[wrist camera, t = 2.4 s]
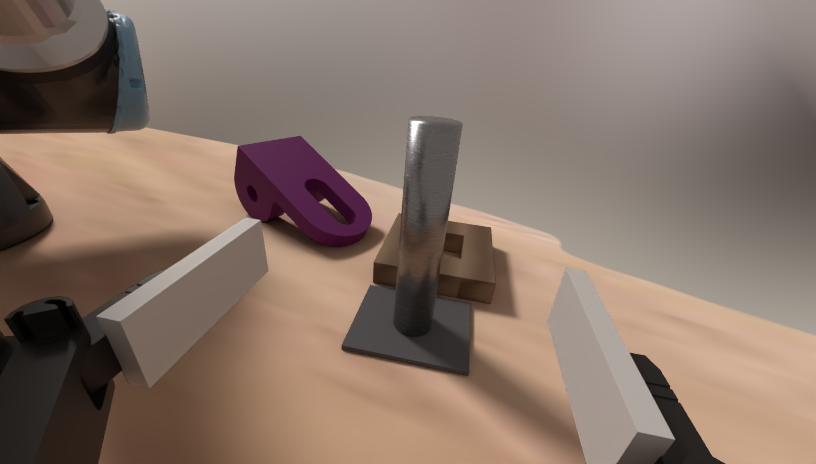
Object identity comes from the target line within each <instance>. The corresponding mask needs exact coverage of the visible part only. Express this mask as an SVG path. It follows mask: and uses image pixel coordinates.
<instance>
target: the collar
mask: <svg viewBox="0 0 816 464" xmlns="http://www.w3.org/2000/svg"><path fill="white" fill-rule="evenodd" d="M400 227H401V214H400V213H399V214H398V216H397V218H396V220H395V222H394V224H393V226H392V228H391V229H390V231H389V233H388V235H387V237H386V239H385V241H384V243H383V245H382V247H381V249H380V251H379V253H378V255H377V257H376V259H375V261H374V269H373V282H374V283H380V284H385V285H390V286H396V278H397V265H398V252H399V240H400ZM443 250H445V251H451V252H457V253H461V257H460V259H457V258H451V257H445V256H442V262H441V269H440V275H439V282H438V288H437V294H440V295H445V296H451V297H456V298H462V299H467V300H473V301H478V302H484V303H489V304H490V303H491V299H492V295H493V292H494V288H495V284H496V282H495V270H494V258H493V246H492V234H491V227H484V226H478V225H471V224H465V223H458V222H452V221H448V223H447V229H446V236H445V243H444V249H443Z"/></svg>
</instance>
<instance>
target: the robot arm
mask: <svg viewBox="0 0 816 464" xmlns="http://www.w3.org/2000/svg"><path fill="white" fill-rule="evenodd" d="M149 120H150V115H149V106H148V99H147V92H146V86H145V80H144V74H143V68H142V62H141V57H140V51H139V46H138V41H137V36H136V31H135V27H134V24H133V22H132V20H131V19H130V18H128V17H127V16H125V15H122V14H118V13H117V12H115V11H107V12H106V11H105V9H104V7H103V5H102V3H101V2H100V0H0V134H27V133H100V132H106V133H109V134H113V133H116V132H118V131H134V130H141V129H143V128H145V127H146V126H147V125H148V123H149ZM51 220H52V214H51V212H50V210H49V208H48V206H47V204H46V202H45V200H44V199H43V197H42V196H41V195H40V194H39V193H38V192H37V191H36V190H34V189H33V188H32V187H31V186H30V185H29V184H28V183H27V182H26V181H25V180H24V179H23V178H22V177H21V176H20V175H19V174H18V173H16V172H15V171H14V170H13V169H12V168H11V167H10V166H9V165H8V164H7V163H6V162H5V161H4V160H3V159H2V158H1V157H0V250H1V249H4V248H7V247H9V246H12V245H14V244H17V243H19V242H21V241H23V240H26V239H28V238H30V237H32V236H33V235H35V234H37V233H39V232H40V231H42V230H43V229H44V228H45V227H47V226H48V225H49V224H50V222H51ZM267 272H268V265H267V259H266V252H265V245H264V238H263V232H262V225H261V220H257V219H251V218H244V219H242V220H241V221H239V222H238V223H236V224H235V225H233V226H232V227H230V228H229V229H227V230H226V231H224V232H223V233H221V234H220V235H218V236H216V237H215V238H213V239H212V240H210V241H209V242H207V243H206V244H204V245H203V246H201V247H200V248H198V249H197V250H195V251H194V252H192V253H191V254H189V255H188V256H186V257H185V258H183V259H182V260H180V261H179V262H177V263H176V264H174V265H173V266H171V267H170V268H166V269H163V270H161V271H158V272H156V273H153V274H151V275H149V276H148V277H146V278H144V279H143V280H141V281H140V282H138V283H137V285H136V286H132V287H131V288H129V289H127V290H126V291H125V293H121V294H120V295H118V296H117V297H115V298H113V299H112V300H110V301H109V302H107V303H106V304H104V305H103V306H101V307H100V308H98V309H96V310H95V311H93V312H92V313H90V314H89V315H87V316H86V317H84V318H81V316H80V314H79V312H78V310H77V308H76V306H75V304H74V302H73V300H71V299H70V298H68V297H61V296H57V297H49V298H44V299H40V300H37V301H33V302H31V303H29V304H26V305H24V306H21V307H20V308H18V309H16V310H15V311H13V312H11V313H10V314H9V315H8V316H7V317H6V318H5V319H4V320H5V322H6V323H7V325H8V326H9V328H10V329H11V331H12V332H13V334H14V335H15V336H4V335H3V333H2V332H1V331H0V464H98V461H99V457H100V452H101V448H102V443H103V439H104V434H105V430H106V425H107V421H108V416H109V412H110V407H111V403H112V398H113V393H114V389H115V385H114V381H113V379H112V378H114V377H115V376H116V375H117V374H118V373H119V372H120V371H122V372H123V374H124V376H125V378H126V380H127V382H128V384H133V385H137V386H141V387H145V388H149V389H150V388H151V387H152V386H153V385H154V384H155V383H156V382H157V381H158V380H159V379H160V378H161V377H162V376H163V375H164V374H165V373H166V372H167V371H168V370H169V369H170V368H171V367H172V366H173V365H174V364H175V363H176V362H177V361H178V360H179V359H180V358H181V357H182V356H183V355H184V354H185V353H186V352H187V351H188V350H189V349H190V348H191V347H192V346H193V345H194V344H195V343H196V342H197V341H198V340H199V339H200V338H201V337H202V336H203V335H204V334H205V333H206V332H207V331H208V330H209V329H210V328H211V327H212V326H213V325H214V324H215V323H216V322H217V321H218V320H219V319H220V318H221V317H222V316H223V315H224V314H225V313H226V312H227V311H228V310H229V309H230V308H231V307H232V306H233V305H234V304H235V303H237V302H238V301H239V300H240V299H241V298H242V297H243V296H244V295H245V294H246V293H247V292H248V291H249V290H250V289H251V288H252V287H253V286H254V285H255V284H256V283H257V282H258V281H259V280H260V279H261V278H262V277H263V276H264V275H265V274H266V273H267ZM547 322H548V326H549V330H550V333H551V337H552V340H553V344H554V348H555V351H556V355H557V359H558V362H559V366H560V370H561V373H562V377H563V380H564V384H565V388H566V391H567V395H568V399H569V402H570V406H571V409H572V413H573V417H574V420H575V424H576V428H577V431H578V435H579V439H580V442H581V446H582V449H583V453H584V457H585V460H586V464H725V463H723V462H721V461H720V460H718V459H716V458H714V457H713V456H712V455H711V453H710V452H709V450H708V448H707V447H706V445H705V443H704V442H703V440H702V438H701V437H700V435H699V433H698V432H697V430H696V428H695V427H694V425H693V423H692V422H691V420H690V418H689V417H688V415H687V413H686V412H685V410H684V409H683V407H682V405H681V404H680V403H678V399H677V397H676V395H675V394H674V392H673V390H672V389H670V385H669V384H668V382H667V380H666V379H665V377H664V375H663V374H662V372H661V370H660V369H659V368H658V367H657V366H656V365H654V364H653V363H652V362H651V361H650V360H649V359H648V358H647V357H646V356H645V355H639V354H634V353H629V351H628V349H627V348H626V346H625V344H624V342H623V340H622V338H621V336H620V334H619V332H618V331H617V329H616V327H615V325H614V323H613V321H612V319H611V317H610V315H609V314H608V312H607V310H606V308H605V306H604V304H603V302H602V300H601V298H600V297H599V295H598V293H597V291H596V289H595V287H594V285H593V283H592V281H591V280H590V278H589V276H588V274H587V272H586V271H581V270H574V269H568V268H566V269H565V272H564V275H563V278H562V280H561V283H560V286H559V289H558V292H557V294H556V297H555V300H554V303H553V306H552V308H551V311H550V314H549V317H548V319H547Z"/></svg>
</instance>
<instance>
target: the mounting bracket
mask: <svg viewBox="0 0 816 464" xmlns="http://www.w3.org/2000/svg"><path fill="white" fill-rule="evenodd" d="M234 181H235V187H236V191H237V194H238V197H239V200H240V202H241V204H242V205H243V207H244V209H245V210H246V211H247V213H248V214H249V215H250V216H252V217H253V218H255V219H257V220H261V222H265V221H268V220H270V219H273V218H276V217H279V216H281V215H283V214H284V212H285V213H286V214H287V215H288V216H289V217H290V218H291V219H292V220H293V221H294V223H295V224H296V225H297V226H298V227H299V228H300V229H301V230H302V231H303V232H304V233H305V234H306V235H307V236H309V237H310V238H311V239H313V240H315V241H317V242H319V243H322V244H325V245H328V246H334V247H342V246H347V245H350V244H353V243H355V242H357V241H359V240H360V239H362V238H363V236H364V235H365V233H366V231H367V229H368V227H369V225H370V224H371V221H372V212H371V209H370V207H369V205H368V203H367V202H366V200H365V199H364V198H363V197H362V196H361V195H360V194H359V193H358V192H357V191H356V190H355V189H354V188H353V187H352V186H351V185H350V184H349V183H348V182H347V181H346V180H345V179H344V178H343V177H342V176H341V175H340V174H339V173H338V172H337V171H336V170H335V169H334V168H333V167H332V166H331V165H329V164H328V162H326V161H325V160H324V159H323V158H322V157H321V156H320V155H319V154H318V153H317V152H316V151H315V150H314V149H313V148H312V147H311V146H310V145H309V144H308V143H307V142H306V141H305V140H304V139H303V138H302V137H301V136H297V137H291V138H285V139H278V140H272V141H266V142H260V143H253V144H248V145H241V146H238V149H237V158H236V166H235V175H234ZM324 198H326V199H327V200H328V202H329V203H330V204H331V205H332V206H333V207H334V208H335V209H336V210H337V211H338V212H339V213H340V214H341V215H342V216H343V217H344V218H345V219H346V220H347V221H348V222H349V223H350V225H346V224H342V223H339V222H338V221H336V220H335V219H334V218H333V217H332V216H331V215H330V214H329V213H328V212H327V210H326V209H325V208H324V207H323V206H322V205H321V204H320V203H319V202H320V201H322V200H323V199H324Z"/></svg>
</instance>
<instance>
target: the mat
mask: <svg viewBox="0 0 816 464" xmlns="http://www.w3.org/2000/svg"><path fill="white" fill-rule="evenodd" d="M395 291H396V290H395V289H390V288H384V287H379V286H373V285H370V287H369V289H368V291H367V293H366V295H365V297H364V299H363V302H362V304H361V306H360V308H359V310H358V312H357V314H356V316H355V318H354V321H353V323H352V325H351V327H350V329H349V331H348V333H347V335H346V337H345V339H344V342H343V344H342V349H345V350H349V351H354V352H359V353H364V354H368V355H373V356H378V357H383V358H387V359H392V360H397V361H401V362H406V363H411V364H416V365H420V366H425V367H430V368H435V369H439V370H444V371H449V372H454V373H458V374H463V375H468V373H469V344H470V307H471V303H466V302H460V301H455V300H450V299H444V298H439V297H436V301H435V308H434V314H433V321H432V327H431V329H430V331H429V332H428V333H427V334H425V335H423V336H419V337H409V336H406V335H403V334H401V333H400V332H398V331H397V330H396V328H395V327H394V324H393V317H394V304H395Z"/></svg>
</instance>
